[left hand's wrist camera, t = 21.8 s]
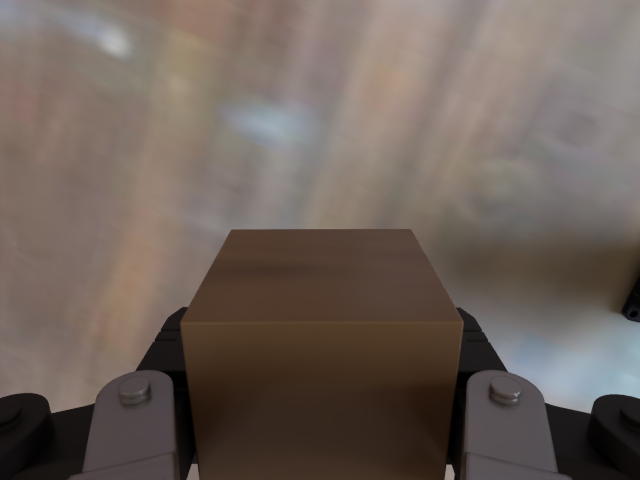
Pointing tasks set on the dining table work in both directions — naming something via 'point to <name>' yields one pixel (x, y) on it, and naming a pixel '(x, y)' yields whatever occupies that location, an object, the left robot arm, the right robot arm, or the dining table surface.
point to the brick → (321, 358)
